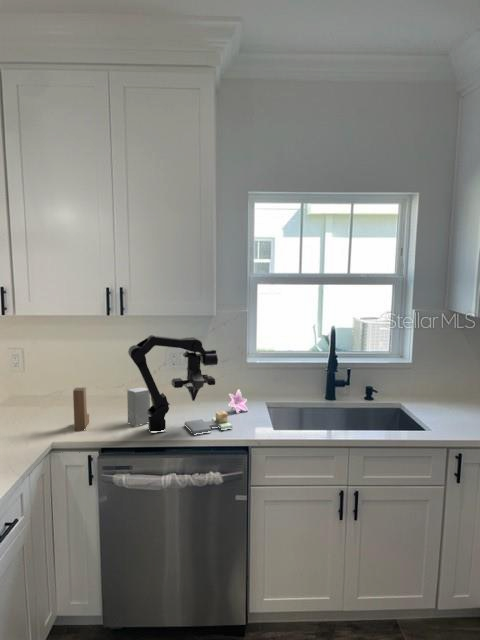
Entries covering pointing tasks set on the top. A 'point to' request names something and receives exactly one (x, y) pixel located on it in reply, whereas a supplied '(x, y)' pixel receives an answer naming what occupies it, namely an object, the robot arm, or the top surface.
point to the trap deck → (205, 425)
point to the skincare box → (138, 405)
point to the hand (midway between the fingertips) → (193, 400)
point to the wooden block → (80, 409)
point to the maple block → (221, 417)
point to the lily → (238, 401)
